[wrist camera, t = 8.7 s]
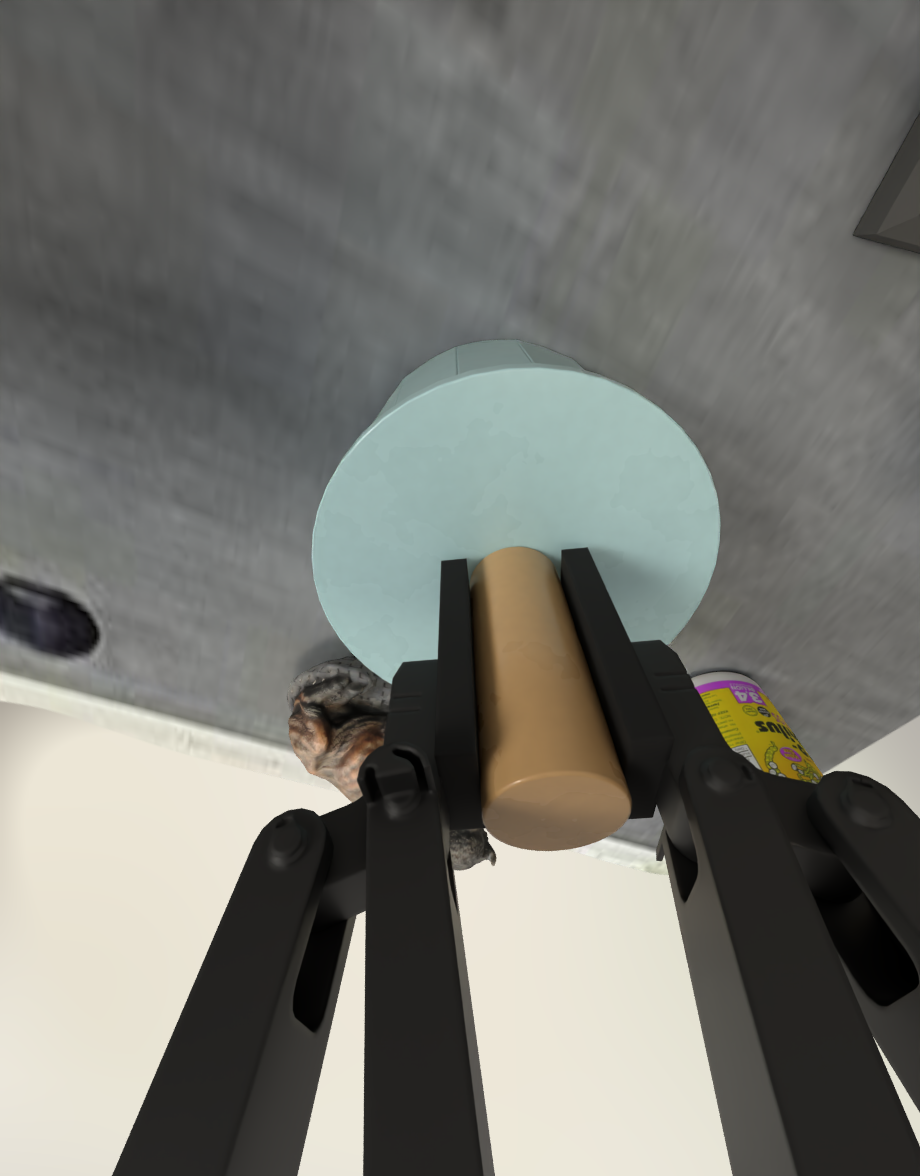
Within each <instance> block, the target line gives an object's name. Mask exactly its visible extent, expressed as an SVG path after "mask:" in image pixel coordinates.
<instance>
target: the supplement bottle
mask: <svg viewBox="0 0 920 1176" xmlns="http://www.w3.org/2000/svg"><path fill="white" fill-rule="evenodd" d="M691 680H692V682H693V683H694V687H695V689H697V691H698V692H699V694H700V696H701V698H702V700H703V701H704V703H705V705H706V707H707V708H708V710H709V712H710V714H711V716H712V717H713V719H714V721H715V723H716V725H717V726H718V728H719V730H720V732H721V734H722V735H723V737H724V739H725V741H726V742H727V744H728V745H729V746H730V748H731V749H732V750H733V751H735V752H737V753H739V754H741V755H743V756H744V757H745V758H746V759H747V760H749V761H750V762H751V763H752V764H753V765H754V766H755V767H756V768H758V769H760V770H762V771H764V772H768V773H771V774H774V775H778V776H783V777H787V778H792V779H797V780H801V781H806V782H811V783H815V784H818V783H819V781H820V780H821V778H822V777H823V775H822V773H821V772H820V770H819V769H818V767H817V766H816V765H815V763H814V762H813V760H812V759H811V757H810V756H809V755H808V753H807V752H806V750H805V749H804V748H803V746H802V745H801V743H800V742H799V741H798V739H797V738H796V736H795V735H794V733H793V732H792V731H791V729H790V728H789V726H788V725H787V724H786V722H785V721H784V720H783V718H782V717H781V715H780V714H779V712H778V711H777V710H776V708H775V707H774V705H773V704H772V702H771V701H770V700H769V698H768V697H767V696H766V694H765V693H764V692H763V690H762V689H761V688H760V686H759V685H758V684H757V683H756V682H754V681H753V680H752V679H750V678H748V677H746V676H744V675H741V674H737V673H732V672H712V673H707V674H702V675H699V676H696V677H693V678H691Z"/></svg>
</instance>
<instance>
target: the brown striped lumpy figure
mask: <svg viewBox="0 0 920 1176" xmlns="http://www.w3.org/2000/svg"><path fill="white" fill-rule="evenodd" d="M391 686H392V684H390V683H389V682H387V681H385V680H384V679H382V678H381V677H379V676H378V675H377V674H375V673H374V672H373V671H371V670H370V669H369V668H367V667H366V666H365V665H364V664H363V663H362V662H361V661H359V660H357V659H355V658H351V657H345V658H342V659H338V660H332V661H327V662H325V663H322V664H319V665H317V666H315V667H313V668H311V669H309V670H307V671H306V672H304V673H302V674H301V675H299V676H297V677H296V678H295V679H293V681H292V682H291V684H290V686H289V691H288V696H287V700H288V705H289V708H290V710H291V712H292V713H293V714H292V715H291V716H290V718H289V721H288V724H289V737H290V740H291V744H292V747H293V749H294V752H295V754H296V756H297V757H298V758H299V759H300V760H301V762H302V763H303V764H304V766H305V768H306V770H307V771H308V772H309V773H310V774H313V775H316V776H318V777H320V778H323V779H326V780H328V781H329V782H330V783H332V784H333V785H334V786H336V787H337V788H338V789H339V790H340V791H341V792H342V793H343V794H344V795H345V796H346V797H347V798H348V799H349V800H350V801H351V802H354V801H356V800H358V799H359V798H360V797H361V796H363V795H362V792H361V790H360V787H359V785H358V783H357V777H358V772H359V768H360V766H361V765H362V763H363V762H364V760H365V759H366V757H367V756H368V755H369V754H370V753H372V752H373V751H374V750H375V749H377V748H378V747H380V746H382V745H383V744H384V736H385V729H386V722H387V715H388V708H389V701H390V694H391ZM449 846H450V851H451V855H452V861H453V869H454V870H465V869H469V868H471V867H472V866H473V865H475V864H477V863H480V862H481V861H483V860H490V862H491V864H492V865H493V866H494V865H495V862H496V854H495V852H494V850H493V848H492V847H491V845H490V844H489V842H488V837H487V832H485V831H484V829H483V828H481V829H465V830H451V829H450V824H449Z"/></svg>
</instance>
